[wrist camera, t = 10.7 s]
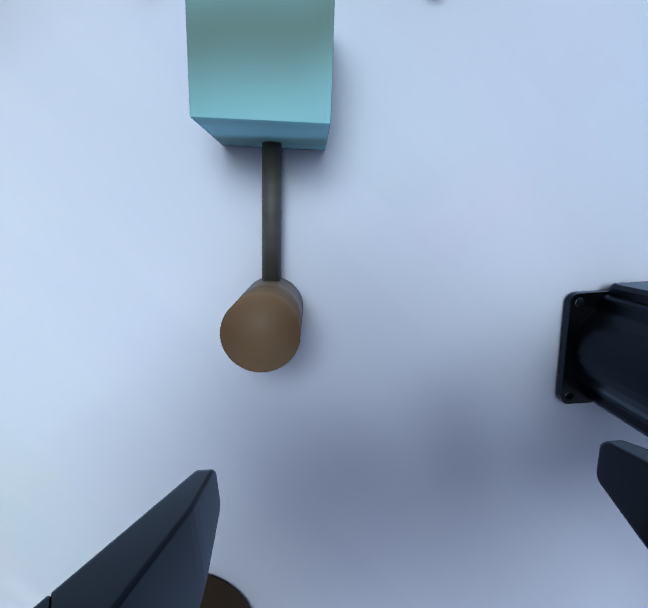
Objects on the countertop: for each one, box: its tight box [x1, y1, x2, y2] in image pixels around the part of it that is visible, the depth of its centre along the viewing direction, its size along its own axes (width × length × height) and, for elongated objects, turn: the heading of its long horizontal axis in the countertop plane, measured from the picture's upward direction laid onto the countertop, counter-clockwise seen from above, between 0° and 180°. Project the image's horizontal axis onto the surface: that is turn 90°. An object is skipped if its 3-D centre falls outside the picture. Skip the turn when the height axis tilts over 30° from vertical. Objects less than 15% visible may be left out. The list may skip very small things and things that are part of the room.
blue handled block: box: [185, 0, 335, 372], centre depth 16 cm, size 15×5×5 cm, turn 178°
